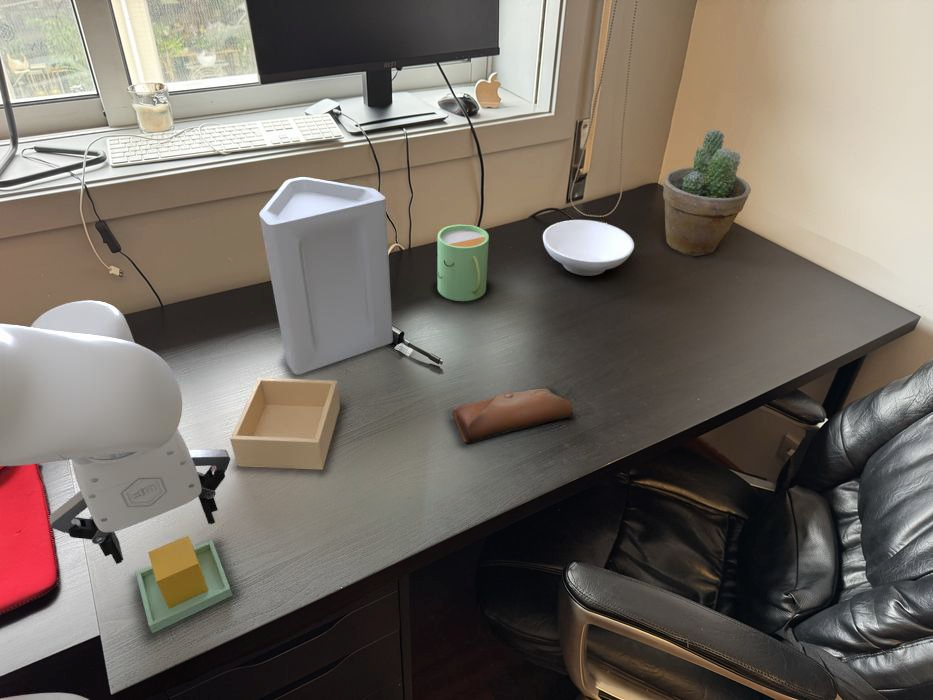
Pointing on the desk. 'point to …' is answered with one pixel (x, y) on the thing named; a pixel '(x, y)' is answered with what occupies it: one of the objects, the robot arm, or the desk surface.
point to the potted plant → (703, 198)
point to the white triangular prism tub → (328, 270)
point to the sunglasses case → (509, 413)
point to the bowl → (587, 246)
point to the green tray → (217, 592)
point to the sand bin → (286, 424)
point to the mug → (462, 262)
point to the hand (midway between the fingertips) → (164, 533)
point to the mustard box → (177, 571)
